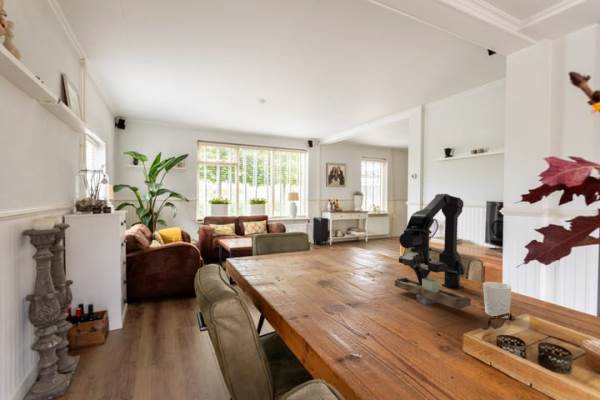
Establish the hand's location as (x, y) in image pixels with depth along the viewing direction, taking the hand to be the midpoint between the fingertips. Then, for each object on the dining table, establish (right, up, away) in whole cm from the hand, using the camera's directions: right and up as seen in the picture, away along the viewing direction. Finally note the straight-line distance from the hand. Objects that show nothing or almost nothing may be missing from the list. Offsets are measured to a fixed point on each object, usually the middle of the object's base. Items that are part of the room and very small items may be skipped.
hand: (421, 284), depth 111 cm
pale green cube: (+2, -1, -4) cm, 4 cm away
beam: (+2, -6, -3) cm, 6 cm away
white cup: (+19, -6, -15) cm, 25 cm away
